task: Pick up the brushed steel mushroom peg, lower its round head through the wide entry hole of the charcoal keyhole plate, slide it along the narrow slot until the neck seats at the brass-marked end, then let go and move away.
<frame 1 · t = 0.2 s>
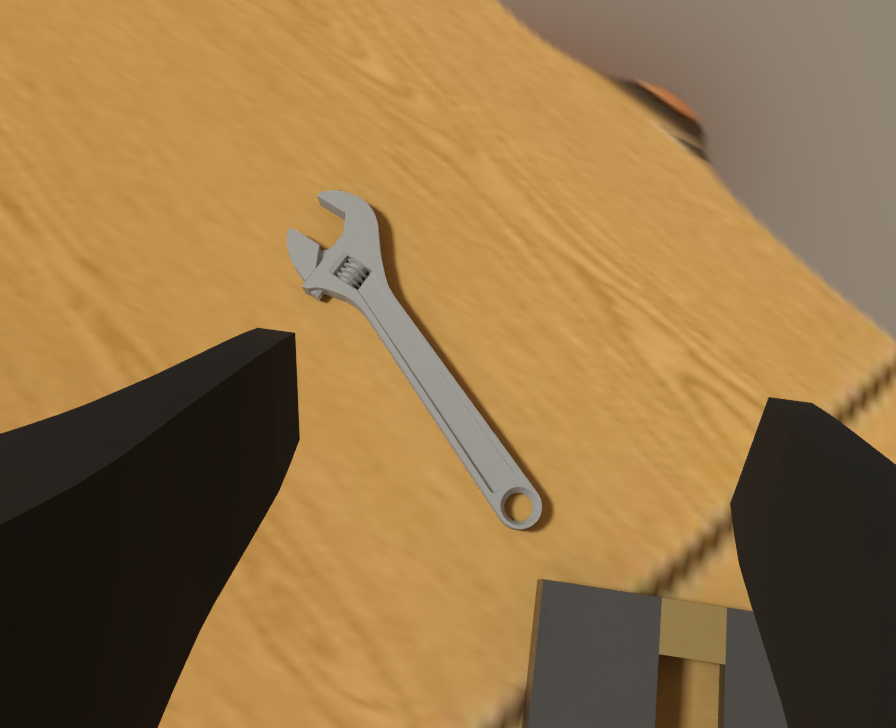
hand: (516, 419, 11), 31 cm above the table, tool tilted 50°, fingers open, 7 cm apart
adjustable wrench: (402, 362, 45), on the table
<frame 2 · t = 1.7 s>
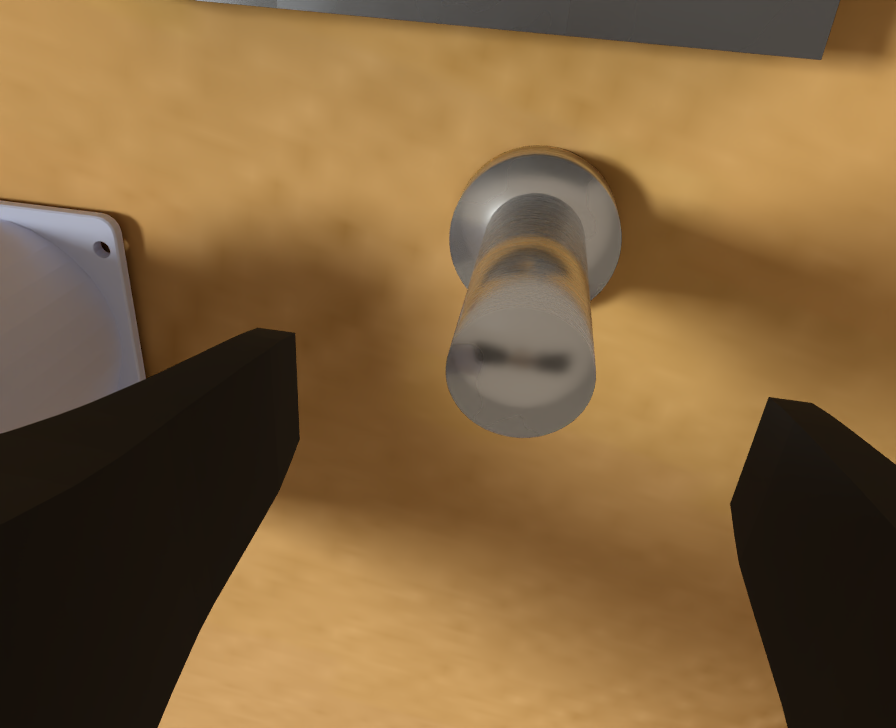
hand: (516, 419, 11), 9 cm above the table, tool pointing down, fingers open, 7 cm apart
steel peg: (535, 228, 19), on the table
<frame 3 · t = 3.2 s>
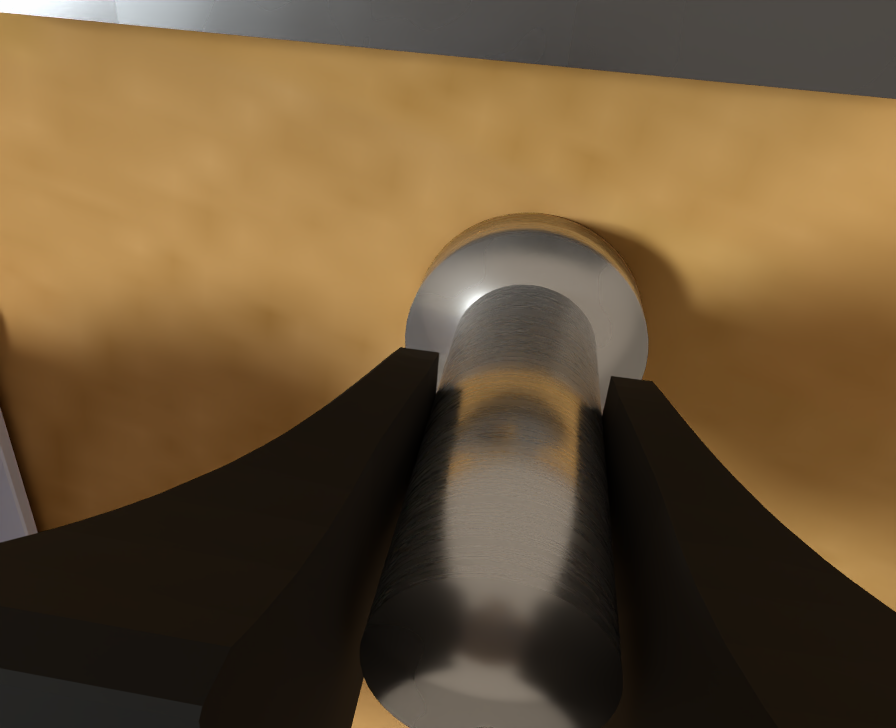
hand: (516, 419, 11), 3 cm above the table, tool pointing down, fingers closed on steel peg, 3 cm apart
steel peg: (526, 321, 14), on the table, touching gripper
when the fingers open (4 cm above the table, at t = 8.8 s): steel peg stays where it is, on the table.
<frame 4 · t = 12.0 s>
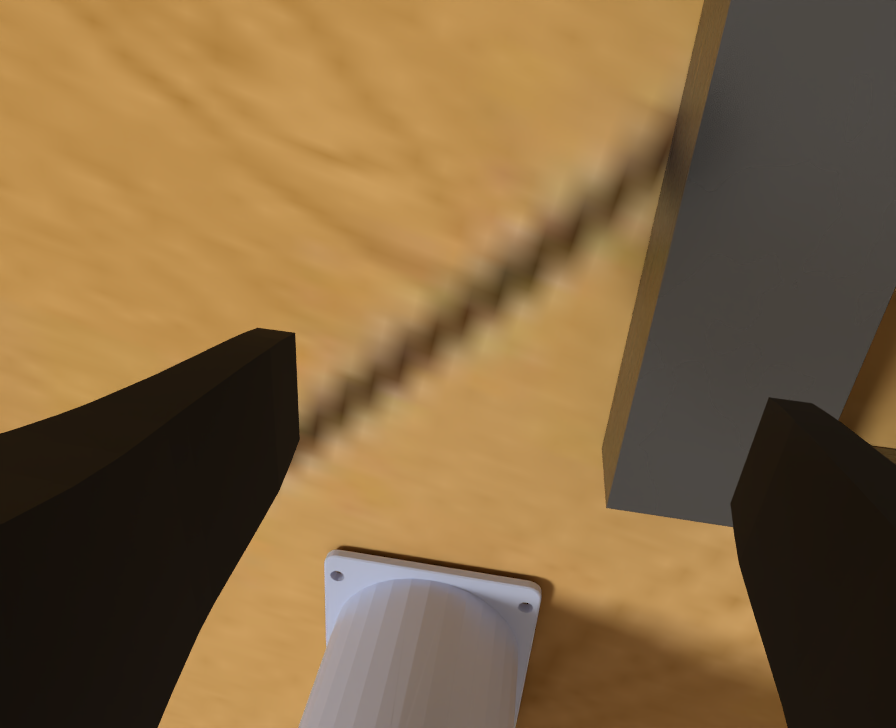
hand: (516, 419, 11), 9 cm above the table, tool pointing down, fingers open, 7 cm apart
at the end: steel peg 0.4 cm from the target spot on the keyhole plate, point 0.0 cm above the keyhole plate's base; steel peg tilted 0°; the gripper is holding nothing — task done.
